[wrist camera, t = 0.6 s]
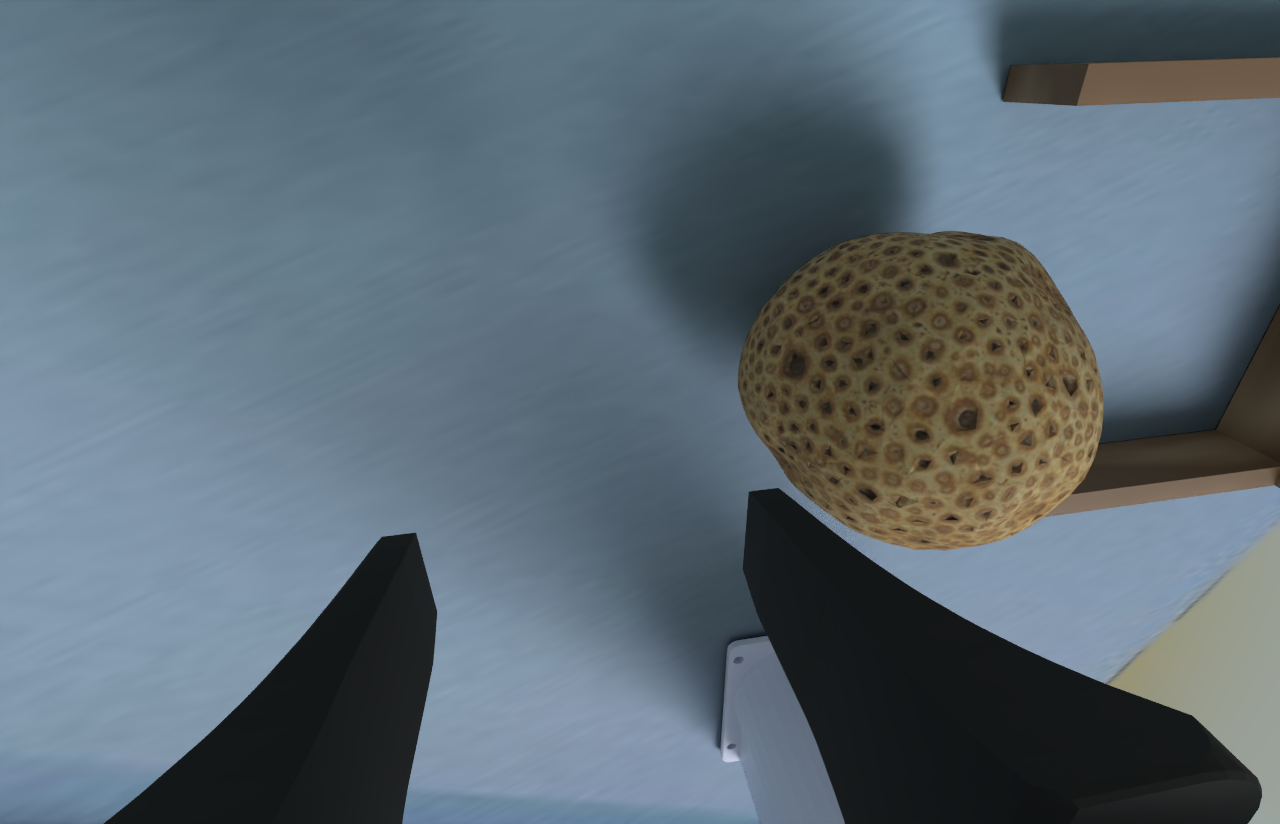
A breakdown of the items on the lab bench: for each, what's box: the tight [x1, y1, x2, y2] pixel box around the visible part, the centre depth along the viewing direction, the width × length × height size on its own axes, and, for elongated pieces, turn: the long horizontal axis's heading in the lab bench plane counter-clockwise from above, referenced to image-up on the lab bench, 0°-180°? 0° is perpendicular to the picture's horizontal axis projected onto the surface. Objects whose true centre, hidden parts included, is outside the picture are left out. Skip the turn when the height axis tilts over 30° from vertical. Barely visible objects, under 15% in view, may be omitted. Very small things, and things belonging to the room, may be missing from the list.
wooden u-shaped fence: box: [1003, 57, 1280, 517], centre depth 21 cm, size 16×16×5 cm
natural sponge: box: [738, 231, 1103, 550], centre depth 18 cm, size 9×9×10 cm
